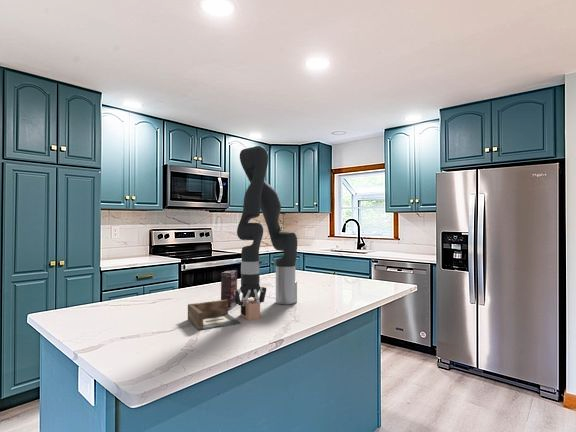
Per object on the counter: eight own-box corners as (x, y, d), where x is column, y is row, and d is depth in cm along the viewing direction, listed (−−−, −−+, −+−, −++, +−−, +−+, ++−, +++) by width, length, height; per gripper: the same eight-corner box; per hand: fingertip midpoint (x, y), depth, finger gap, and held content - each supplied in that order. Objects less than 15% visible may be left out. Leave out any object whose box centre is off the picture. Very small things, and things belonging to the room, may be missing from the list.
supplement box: (230, 310, 154) (230, 273, 154) (220, 309, 155) (220, 272, 155) (237, 305, 163) (237, 270, 163) (227, 304, 164) (227, 269, 164)
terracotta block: (251, 313, 149) (251, 298, 149) (260, 318, 142) (260, 302, 142) (240, 314, 147) (240, 300, 147) (248, 319, 140) (248, 304, 140)
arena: (226, 314, 148) (226, 299, 148) (240, 323, 135) (240, 307, 135) (187, 319, 140) (187, 304, 140) (198, 330, 127) (198, 313, 127)
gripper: (262, 269, 151) (262, 309, 151) (230, 272, 144) (230, 314, 144) (270, 272, 145) (270, 314, 145) (237, 274, 138) (237, 319, 138)
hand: (250, 314), depth 144 cm, fingers closed on terracotta block, 5 cm apart
